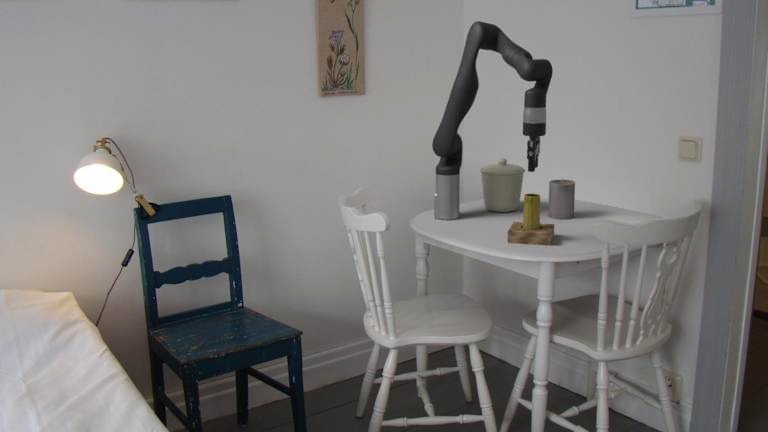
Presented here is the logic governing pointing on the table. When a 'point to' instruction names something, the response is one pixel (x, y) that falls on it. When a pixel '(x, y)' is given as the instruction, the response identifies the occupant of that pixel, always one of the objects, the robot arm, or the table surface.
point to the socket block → (531, 234)
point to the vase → (531, 212)
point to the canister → (502, 186)
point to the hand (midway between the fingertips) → (532, 169)
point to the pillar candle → (561, 199)
